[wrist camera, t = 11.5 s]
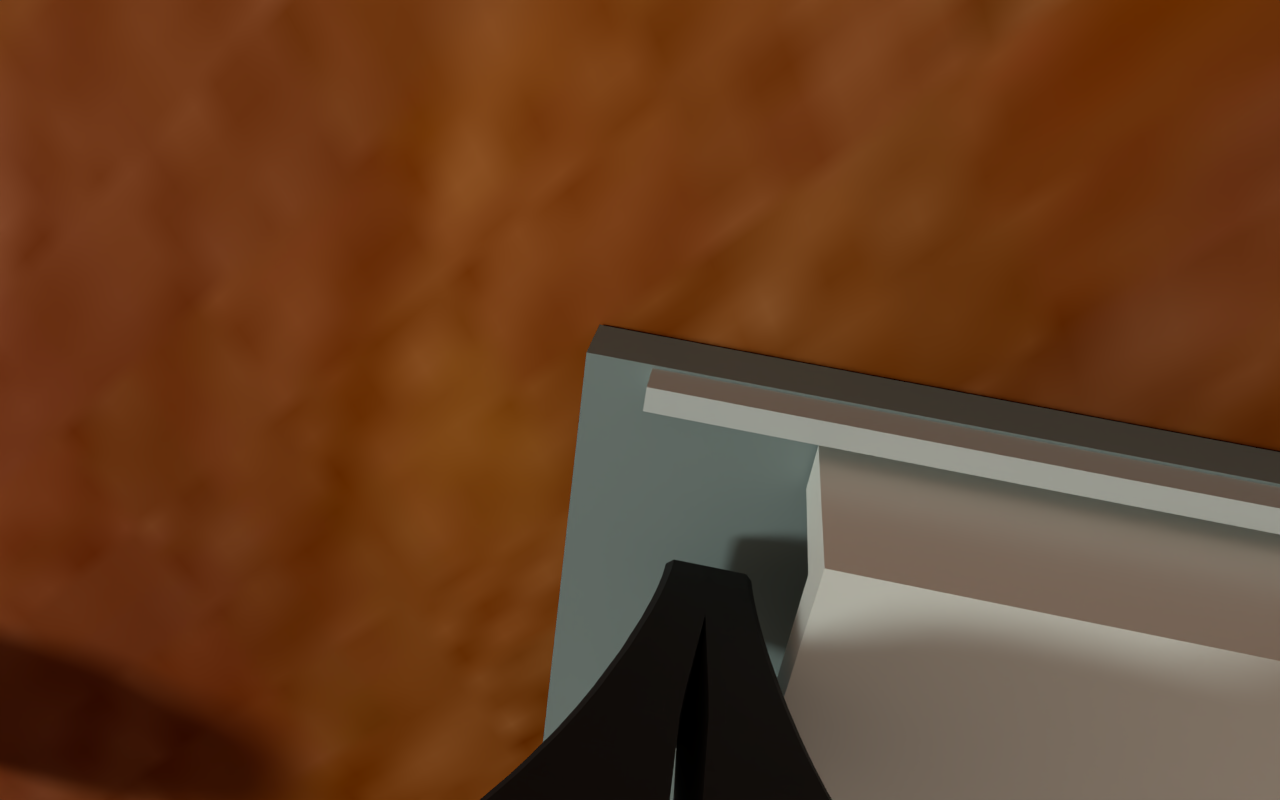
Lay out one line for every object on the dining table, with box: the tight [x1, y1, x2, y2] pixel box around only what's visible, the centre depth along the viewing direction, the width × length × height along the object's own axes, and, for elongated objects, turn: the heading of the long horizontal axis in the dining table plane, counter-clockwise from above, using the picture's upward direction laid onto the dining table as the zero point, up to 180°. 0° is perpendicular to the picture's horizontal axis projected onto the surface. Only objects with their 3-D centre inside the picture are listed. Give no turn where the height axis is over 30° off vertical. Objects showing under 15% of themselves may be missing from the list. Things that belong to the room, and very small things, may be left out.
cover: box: [777, 445, 1280, 800], centre depth 13 cm, size 6×7×3 cm
